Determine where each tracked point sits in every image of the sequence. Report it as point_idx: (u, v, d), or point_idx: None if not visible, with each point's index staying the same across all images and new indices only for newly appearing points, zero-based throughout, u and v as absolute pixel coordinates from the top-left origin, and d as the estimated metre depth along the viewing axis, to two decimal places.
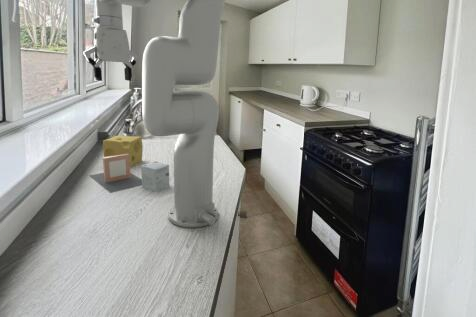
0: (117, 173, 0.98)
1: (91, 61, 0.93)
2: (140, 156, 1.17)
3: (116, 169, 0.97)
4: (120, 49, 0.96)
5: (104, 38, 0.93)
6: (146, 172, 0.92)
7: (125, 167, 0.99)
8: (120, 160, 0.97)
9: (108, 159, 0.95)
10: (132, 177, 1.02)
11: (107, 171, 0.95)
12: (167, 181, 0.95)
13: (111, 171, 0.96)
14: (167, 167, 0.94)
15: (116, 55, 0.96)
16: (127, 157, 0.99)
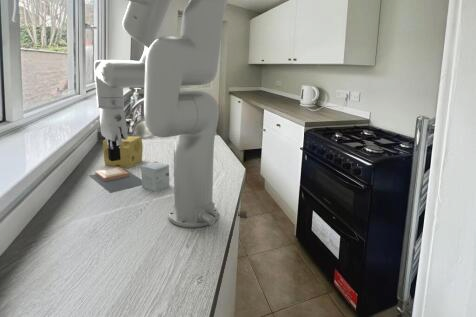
0: (113, 173, 1.00)
1: None
2: (140, 156, 1.17)
3: (110, 172, 1.01)
4: None
5: None
6: (146, 172, 0.92)
7: (119, 170, 1.03)
8: (111, 169, 1.04)
9: (99, 170, 1.02)
10: (132, 177, 1.02)
11: (102, 174, 0.99)
12: (167, 181, 0.95)
13: (105, 173, 1.00)
14: (167, 167, 0.94)
15: None
16: (118, 167, 1.06)
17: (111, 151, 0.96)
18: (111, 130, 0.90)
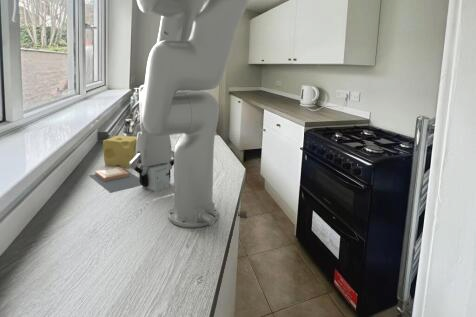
0: (113, 173, 1.00)
1: None
2: None
3: (110, 172, 1.01)
4: None
5: None
6: (146, 172, 0.92)
7: (119, 170, 1.03)
8: (111, 169, 1.04)
9: (99, 170, 1.02)
10: (132, 177, 1.02)
11: (102, 174, 0.99)
12: (167, 181, 0.95)
13: (105, 173, 1.00)
14: (167, 167, 0.94)
15: None
16: (118, 167, 1.06)
17: None
18: (170, 151, 0.94)
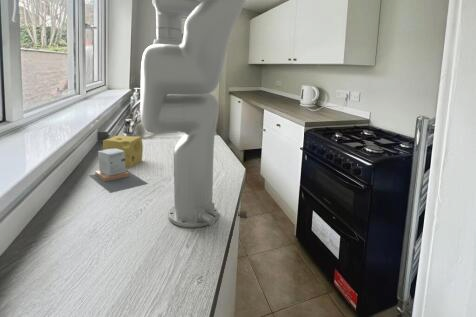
0: None
1: None
2: (140, 156, 1.17)
3: None
4: None
5: None
6: (102, 157, 0.98)
7: None
8: None
9: None
10: (132, 177, 1.02)
11: (102, 174, 0.99)
12: (123, 166, 1.01)
13: None
14: (122, 153, 1.00)
15: None
16: None
17: None
18: None
